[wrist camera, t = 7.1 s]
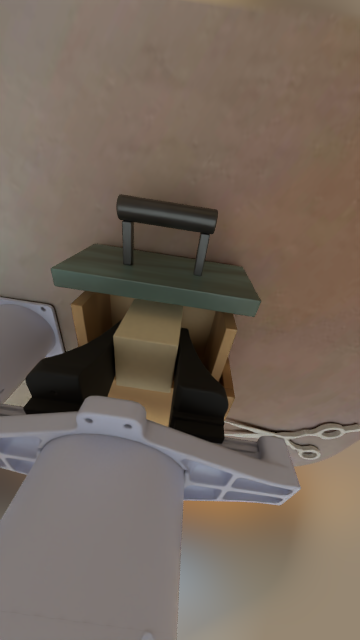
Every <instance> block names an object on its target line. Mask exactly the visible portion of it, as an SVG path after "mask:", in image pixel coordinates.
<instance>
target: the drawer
mask: <svg viewBox="0 0 360 640" xmlns="http://www.w3.org/2000/svg"><path fill="white" fill-rule="evenodd" d="M117 215H118V218H119V219H120V220H124V221H122V235H123V248H119V247H113V246H107V245H100V244H93V245H92V246H90V247H88V248H86V249H84V250H83V251H81V252H79V253H77V254H75V255H74V256H72V257H70V258H68V259H66V260H65V261H63V262H61V263H59V264H57V265H56V266H54V267H52V268H51V272H52V277H53V281H54V285H55V286H58V287H65V288H71V289H77V290H84V291H85V292H83V293H82V294H81V295H80V296H79V297H78V298H77V299H76V300H75V301H74V302H73V303H72V304H71V309H72V314H73V319H74V325H75V330H76V335H77V341H78V346H79V347H80V346H82V345H84V344H86V343H88V342H90V341H92V340H94V339H95V338H97V337H99V336H100V335H102V334H103V333H105V332H106V331H107V330H109V329H110V328H111V327H113V326H114V325H115V324H117V323H118V322H119V321H120V320H122V319H123V318H124V316H125V315H126V313H127V311H128V309H129V308H130V306H131V304H132V302H133V301H134V299H142V300H148V301H155V302H161V303H168V304H174V305H181V306H183V314H182V322H181V328H187V329H188V330H189V335H190V338H191V341H192V344H193V346H194V348H195V351H196V353H197V355H198V357H199V358H200V360H201V362H202V363H203V365H204V366H205V367H206V369H207V370H208V371H209V372H210V374H211V375H212V376H213V377H214V378H215V379H216V380H217V381H218V382H219V379H220V377H221V374H222V371H223V368H224V366H225V363H226V360H227V357H228V355H229V352H230V349H231V346H232V344H233V341H234V338H235V335H236V332H237V327H236V323H235V320H234V316H233V314H239V315H245V316H252V317H255V315H256V313H257V310H258V308H259V305H260V303H261V300H260V298H259V296H258V294H257V293H256V291H255V289H254V287H253V285H252V283H251V281H250V280H249V278H248V276H247V274H246V272H245V270H244V269H243V267H240V266H234V265H227V264H221V263H215V262H208V261H205V257H206V252H207V248H208V243H209V238H210V234H213V233H214V231H215V227H216V223H217V217H218V210H216V209H209V208H203V207H197V206H190V205H184V204H178V203H172V202H165V201H159V200H153V199H147V198H140V197H134V196H128V195H122V194H121V195H119V196H118V199H117ZM134 222H137V223H143V224H149V225H156V226H162V227H168V228H175V229H181V230H187V231H194V232H200V239H199V244H198V250H197V255H196V259H189V258H183V257H177V256H170V255H164V254H158V253H151V252H145V251H138V250H134ZM173 381H174V375H173Z"/></svg>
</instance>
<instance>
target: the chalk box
mask: <svg viewBox="0 0 360 640" xmlns="http://www.w3.org/2000/svg"><path fill="white" fill-rule="evenodd" d="M182 314H183V306H181V305H174V304H168V303H161V302H155V301H148V300H142V299H134V301H133V302H132V304H131V306H130V308H129V309H128V311H127V313H126V315H125V316H124V318H123V320H122V322H121V323H120V325H119V327H118V329H117V330H116V332H115V334H114V336H113V340H114V356H115V372H116V385H119V386H125V387H132V388H139V389H145V390H152V391H158V392H165V393H170V392H171V387H172V381H173V375H174V369H175V363H176V357H177V351H178V345H179V337H180V330H181V322H182Z"/></svg>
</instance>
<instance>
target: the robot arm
mask: <svg viewBox="0 0 360 640" xmlns="http://www.w3.org/2000/svg"><path fill="white" fill-rule="evenodd" d="M44 308H45V309H44ZM122 320H123V319H122ZM122 320H120V321H119V322H118V323H117V324H115V325H114V326H113V327H111V328H110V329H109V330H107V331H106V332H105V333H103V334H102V335H100V336H99V337H97V338H95V339H94V340H92V341H90V342H88V343H86V344H84V345H82V346H80V347H78V348H75V349H73V350H70V351H68V352H65V351H64V347H63V343H62V339H61V335H60V331H59V327H58V323H57V319H56V314H55V310H54V308H53V306H51V305H49V304H42V303H36V302H29V301H23V300H16V299H10V298H3V297H0V468H4V469H8V470H11V471H15V472H19V473H22V474H26V475H27V476H26V478H25V480H24V481H23V483H22V485H21V486H20V488H19V490H18V492H17V493H16V495H15V497H14V499H13V500H12V502H11V503H10V505H9V507H8V508H7V510H6V512H5V513H4V515H3V517H2V518H1V520H0V640H176V638H177V620H178V600H179V599H178V598H179V579H180V558H181V539H182V519H183V500H194V501H197V500H198V501H237V502H255V503H265V504H274V505H281V504H283V503H284V502H285V501H286V500H288V499H289V498H290V497H291V496H293V495H294V494H295V493H296V492H298V491H299V490H300V489H301V487H300V485H299V481H298V478H297V475H296V472H295V469H294V466H293V463H292V460H291V457H290V455H289V452H288V449H287V446H286V443H285V440H284V439H283V438H280V437H273V436H261V437H260V438H259V439H258V441H257V442H254V441H248V440H241V439H234V438H228V437H224V428H223V426H224V416H225V414H226V412H227V410H228V406H229V404H228V398H227V394H226V391H225V388H224V386H222V385H221V384H220V383H219V382H218V381H217V380H216V379H215V378H214V377H213V376H212V375H211V374H210V372H209V371H208V370H207V369H206V367H205V366H204V365H203V363H202V362H201V360H200V358H199V357H198V355H197V353H196V351H195V348H194V346H193V344H192V341H191V338H190V335H189V330H188V329H187V328H181V330H180V337H179V345H178V351H177V357H176V363H175V369H174V388H173V396H172V403H171V410H170V418H169V425H168V427H167V426H164V425H161V424H159V423H156V422H153V421H150V420H148V419H146V410H145V407H144V406H142V405H141V404H140V403H138V402H135V401H131V400H124V399H117V398H111V397H108V394H109V391H110V388H111V386H112V383H113V380H114V378H115V375H116V372H115V356H114V340H113V336H114V334H115V332H116V330H117V329H118V327H119V325H120V323H121V322H122ZM45 357H48V358H45ZM25 379H26V384H27V386H28V388H29V391H30V393H31V395H32V398H31V399H30V400H29V401H28V403H27V404H26V405H25V406H24V407H21V406H14V405H8V404H3V403H4V402H5V401H6V400H7V399H8V398H9V397H10V395H11V394H12V393H13V392H14V391H15V390H16V389H17V388H18V387H19V385H20V384H21V383H22V382H23V381H24V380H25Z"/></svg>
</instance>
